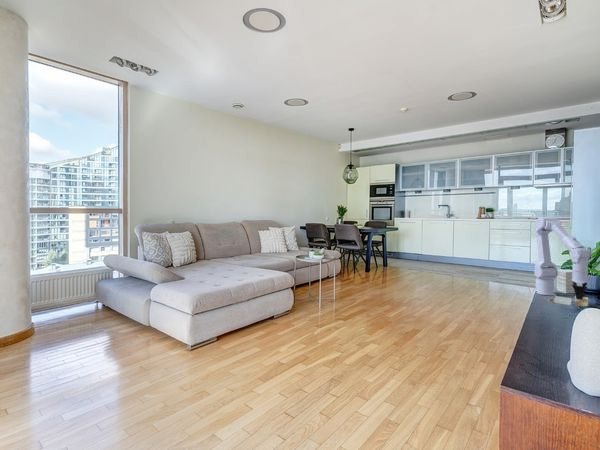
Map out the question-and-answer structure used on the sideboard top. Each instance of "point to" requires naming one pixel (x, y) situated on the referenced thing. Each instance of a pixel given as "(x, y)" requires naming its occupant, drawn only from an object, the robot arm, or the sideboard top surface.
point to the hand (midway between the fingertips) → (579, 297)
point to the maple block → (581, 301)
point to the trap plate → (551, 300)
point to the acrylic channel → (563, 300)
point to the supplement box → (565, 281)
